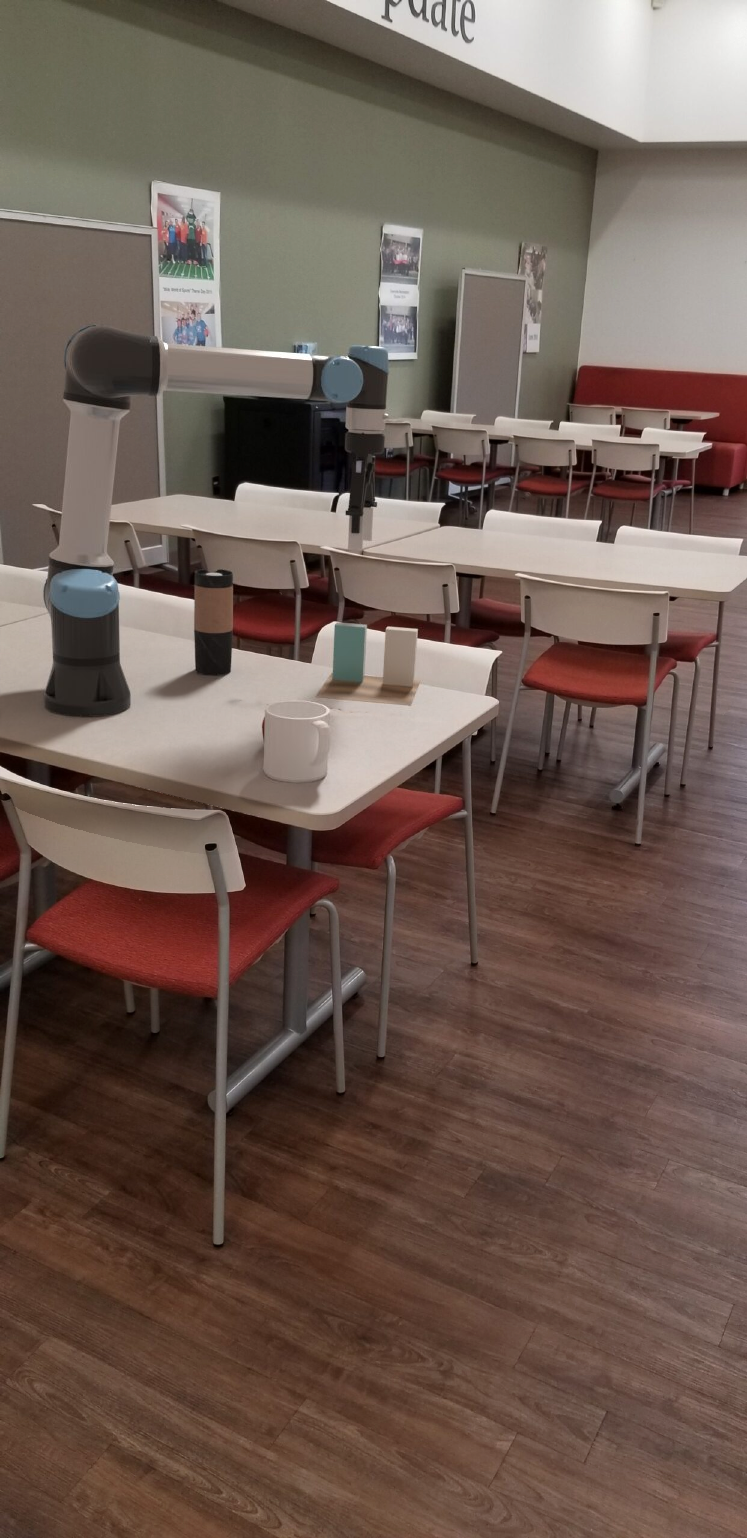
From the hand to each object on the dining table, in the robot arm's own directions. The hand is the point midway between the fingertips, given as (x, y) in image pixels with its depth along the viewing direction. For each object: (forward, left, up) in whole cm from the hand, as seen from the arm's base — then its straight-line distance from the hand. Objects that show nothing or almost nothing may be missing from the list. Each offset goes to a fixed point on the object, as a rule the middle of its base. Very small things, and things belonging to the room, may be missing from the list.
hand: (360, 545), depth 235 cm
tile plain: (-8, -10, -25) cm, 28 cm away
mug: (-61, -1, -27) cm, 67 cm away
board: (-13, -5, -26) cm, 30 cm away
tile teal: (-8, 0, -25) cm, 27 cm away
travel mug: (-6, +28, -27) cm, 39 cm away
